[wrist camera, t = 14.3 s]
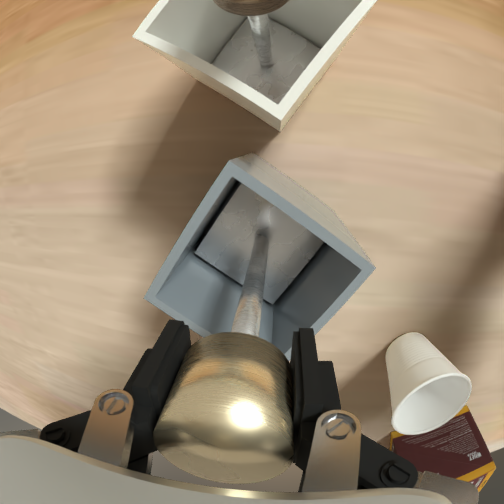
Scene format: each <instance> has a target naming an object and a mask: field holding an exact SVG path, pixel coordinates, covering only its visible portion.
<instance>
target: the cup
mask: <svg viewBox="0 0 504 504" xmlns="http://www.w3.org/2000/svg"><path fill="white" fill-rule="evenodd" d="M385 358H386V366H387V372H388V379H389V387H390V395H391V405H392V417H391V424H392V426H393V428H394V429H395V430H396V431H397V432H399V433H401V434H405V435H416V434H422V433H426V432H429V431H431V430H434V429H436V428H438V427H440V426H442V425H443V424H445V423H446V422H448V421H449V420H450V419H452V418H453V417H454V416H455V415H456V414H457V413H458V412H459V411H460V410H461V409H462V408H463V407H464V405H465V404H466V402H467V401H468V398H469V396H470V394H471V389H472V384H471V381H470V379H469V377H468V376H467V375H465V374H463V373H461V372H460V371H459V370H458V369H457V368H456V367H455V366H454V365H453V364H452V363H451V362H450V361H449V360H448V359H447V358H446V357H445V356H444V355H443V354H442V353H441V352H440V351H439V350H438V349H437V348H436V347H435V346H434V345H433V344H432V343H431V342H430V341H429V340H428V339H427V338H426V337H425V336H424V335H422V334H420V333H417V332H411V333H406V334H404V335H402V336H400V337H398V338H397V339H395V340H394V341H393V342H392V343H391V344H390V346H389V347H388V349H387V352H386V356H385Z"/></svg>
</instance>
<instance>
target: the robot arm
mask: <svg viewBox="0 0 504 504" xmlns="http://www.w3.org/2000/svg"><path fill="white" fill-rule="evenodd" d="M190 347H191V341H190V332H189V326H188V325H185V323H184V321H179V320H169V321H168V323H167V324H166V326H165V328H164V329H163V331H162V333H161V335H160V336H159V338H158V340H157V342H156V343H155V345H154V347H153V349H147V350H146V351H145V353H144V355H143V356H142V358H141V360H140V361H139V363H138V365H137V366H136V368H135V370H134V372H133V373H132V375H131V377H130V379H129V380H128V382H127V384H126V385H125V387H124V389H123V390H120V389H111V390H107V391H105V392H103V393H101V394H100V395H99V396H98V397H97V398H96V400H95V402H94V405H93V408H92V410H90V411H87V412H84V413H81V414H78V415H75V416H72V417H69V418H66V419H63V420H59V421H56V422H53V423H51V424H48V425H47V426H45V427H44V428H43V430H42V431H39V430H38V429H31V430H20V431H6V432H0V504H477V503H478V499H479V492H478V489H477V487H476V486H475V485H474V484H472V483H470V482H467V481H463V480H459V479H455V478H451V477H447V476H443V475H440V474H436V473H433V472H429V471H426V470H425V471H424V473H422V472H419V471H417V469H416V467H415V466H414V465H413V464H412V463H411V462H410V461H408V460H406V459H405V458H403V457H401V456H399V455H397V454H395V453H394V452H392V451H390V450H388V449H387V448H385V447H383V446H381V445H380V444H378V443H376V442H375V441H373V440H371V439H369V438H368V437H366V436H364V435H363V434H361V424H360V421H359V420H358V418H357V417H356V416H355V415H354V414H352V413H350V412H348V411H344V410H341V405H340V400H339V394H338V389H337V383H336V378H335V372H334V367H333V363H332V361H318V357H317V350H316V343H315V336H314V330H313V328H299V330H298V331H293V339H292V349H291V359H290V365H291V368H292V393H293V431H294V458H293V463H296V464H295V465H296V466H298V467H299V468H300V469H302V470H303V474H302V478H301V483H300V486H299V491H298V492H295V493H294V492H293V493H291V492H260V491H247V490H235V489H225V488H218V487H210V486H203V485H196V484H191V483H185V482H180V481H174V480H170V479H165V478H161V477H156V476H152V475H151V467H152V458H153V452H154V451H157V450H158V449H157V447H156V445H155V443H154V439H153V432H154V429H155V427H156V424H157V422H158V419H159V417H160V415H161V412H162V410H163V407H164V405H165V402H166V400H167V398H168V395H169V393H170V390H171V388H172V385H173V383H174V381H175V378H176V376H177V374H178V371H179V369H180V366H181V364H182V362H183V359H184V357H185V355H186V353H187V351H188V349H189V348H190Z"/></svg>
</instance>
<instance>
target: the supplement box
mask: <svg viewBox="0 0 504 504" xmlns="http://www.w3.org/2000/svg"><path fill="white" fill-rule="evenodd" d="M390 451H392V452H394V453H395V454H397V455H399V456H401V457H403V458H405V459H406V460H408V461H410V462H411V463H412V464H413V465H414V466H415V467H416V469H417V471H419V472H422V473H424V471H425V470H426V471H429V472H433V473H436V474H440V475H443V476H447V477H451V478H455V479H459V480H463V481H467V482H470V483H472V484H474V485H475V486H476V487H477V489H478V492H479V491H480V490H481V489H482V487H483V486H484V485H485V483H486V482H487V480H488V479H489V478H490V476H491V475H492V473H493V472H494V470H495V469H496V467H495V464H494V462H493V459H492V457H491V455H490V452H489V450H488V448H487V446H486V444H485V441H484V439H483V437H482V435H481V433H480V431H479V429H478V427H477V425H476V423H475V421H474V419H473V417H472V414H471V412H470V410H469V408H468V406H467V405H466V406H464V407H463V408H462V409H461V410H460V411H459V412H458V413H457V414H456V415H455V416H454V417H453V418H452V419H450V420H449V421H448V422H446V423H445V424H443V425H442V426H440V427H438V428H436V429H434V430H431V431H429V432H426V433H422V434H416V435H405V434H401V433H399V432H397V431H393V432H391V439H390Z"/></svg>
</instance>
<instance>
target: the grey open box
mask: <svg viewBox="0 0 504 504" xmlns="http://www.w3.org/2000/svg"><path fill="white" fill-rule="evenodd" d="M241 183H243V184H244V185H245V186H247V187H248V188H250V189H251V190H253V191H254V192H256V193H257V194H259V195H260V196H261V197H263V198H264V199H266V200H267V201H269V202H270V203H271V204H273V205H274V206H276V207H277V208H278V209H280V210H281V211H283V212H284V213H286V214H287V215H288V216H290V217H291V218H293V219H294V220H295V221H297V222H298V223H299V224H301V225H302V226H304V227H305V228H306V229H308V230H309V231H310V232H312V233H313V234H315V235H316V236H317V237H319V238H320V239H321V240H323V241H324V243H323V244H322V246H321V247H320V248H319V249H318V251H317V252H316V253H315V254H314V255H313V257H312V258H311V259H310V260H309V262H308V263H307V264H306V265H305V266H304V268H303V269H302V270H301V271H300V273H299V274H298V275H297V276H296V277H295V279H294V280H293V281H292V282H291V283H290V285H289V286H288V287H287V288H286V289H285V291H284V292H283V293H282V294H281V295H280V296H279V298H278V299H277V300H276V301H275V302H274V304H273V305H272V304H271V303H269V302H268V301H266V300H265V299H263V302H262V311H261V319H260V328H259V336H258V337H259V338H262V339H264V340H266V341H268V342H270V343H271V344H273V345H274V346H276V347H277V348H278V349H279V350H280V351H281V352H282V353H283V354H284V355H285V356H286V358H287V359H288V361H289V360H290V359H291V349H292V339H293V331H298V330H299V328H313V330H314V336H315V335H316V333H317V332H318V331H319V330H320V329H321V328H322V327H323V326H324V325H325V324H326V323H327V322H328V321H329V320H330V319H331V318H332V317H333V316H334V315H335V313H336V312H337V311H338V310H339V309H340V308H341V307H342V306H343V305H344V304H345V303H346V302H347V300H348V299H349V298H350V297H351V296H352V295H353V294H354V293H355V291H356V290H357V289H358V288H359V287H360V286H361V285H362V284H363V282H364V281H365V280H366V279H367V278H368V277H369V275H370V274H371V273H372V272H373V271H374V270H375V268H376V267H375V266H374V265H373V263H372V262H371V260H370V259H369V257H368V256H367V255H366V253H365V252H364V251H363V249H362V248H361V246H360V245H359V244H358V242H357V241H356V240H355V238H354V237H353V235H352V234H351V233H350V231H349V230H348V229H347V227H346V226H345V225H344V223H343V222H342V221H341V220H340V218H339V217H338V216H337V214H336V213H335V212H334V211H333V210H332V209H331V208H329V207H328V206H327V205H326V204H324V203H323V202H322V201H320V200H319V199H318V198H316V197H315V196H314V195H312V194H311V193H310V192H308V191H307V190H305V189H304V188H303V187H301V186H300V185H299V184H297V183H296V182H295V181H293V180H292V179H290V178H289V177H288V176H286V175H285V174H283V173H282V172H281V171H279V170H278V169H276V168H275V167H273V166H272V165H271V164H269V163H268V162H266V161H265V160H263V159H262V158H260V157H259V156H258V155H256V154H255V153H250V154H247V155H244V156H240V157H237V158H234V159H231V160H229V161H228V162H227V164H226V165H225V167H224V168H223V170H222V171H221V173H220V174H219V176H218V177H217V179H216V180H215V182H214V183H213V185H212V186H211V188H210V189H209V191H208V192H207V194H206V196H205V197H204V199H203V200H202V202H201V203H200V205H199V206H198V208H197V210H196V211H195V213H194V214H193V216H192V218H191V219H190V221H189V222H188V224H187V226H186V227H185V229H184V230H183V232H182V234H181V235H180V237H179V239H178V240H177V242H176V243H175V245H174V247H173V248H172V250H171V252H170V253H169V255H168V257H167V258H166V260H165V262H164V264H163V265H162V267H161V269H160V270H159V272H158V274H157V276H156V277H155V279H154V281H153V282H152V284H151V286H150V288H149V289H148V291H147V293H146V295H145V297H144V299H146V300H147V301H148V302H150V303H151V304H153V305H154V306H156V307H157V308H159V309H160V310H162V311H163V312H165V313H166V314H168V315H169V316H171V317H172V318H174V319H175V320H179V321H184V323H185V325H188V326H189V329H191V330H193V331H194V332H196V333H197V334H199V335H201V336H202V337H206V336H209V335H212V334H216V333H222V332H231V330H232V326H233V322H234V318H235V314H236V310H237V306H238V302H239V299H240V295H241V291H242V287H243V285H242V284H240V283H239V282H237V281H235V280H234V279H232V278H231V277H229V276H228V275H226V274H225V273H223V272H222V271H220V270H219V269H217V268H216V267H214V266H213V265H211V264H210V263H208V262H207V261H205V260H204V259H202V258H201V257H200V256H198V255H197V254H195V252H196V250H197V248H198V247H199V245H200V244H201V242H202V241H203V239H204V238H205V236H206V235H207V233H208V232H209V230H210V229H211V227H212V226H213V224H214V223H215V221H216V220H217V218H218V217H219V215H220V214H221V212H222V211H223V209H224V208H225V206H226V205H227V203H228V202H229V201H230V199H231V198H232V196H233V195H234V193H235V192H236V190H237V189H238V187H239V186H240V185H241Z"/></svg>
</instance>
